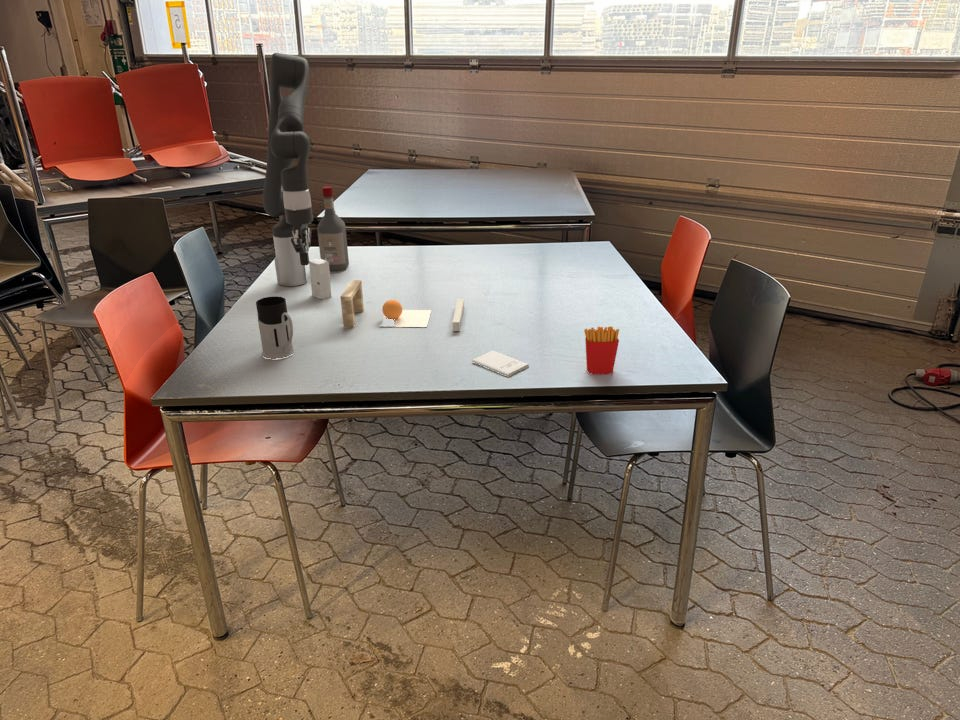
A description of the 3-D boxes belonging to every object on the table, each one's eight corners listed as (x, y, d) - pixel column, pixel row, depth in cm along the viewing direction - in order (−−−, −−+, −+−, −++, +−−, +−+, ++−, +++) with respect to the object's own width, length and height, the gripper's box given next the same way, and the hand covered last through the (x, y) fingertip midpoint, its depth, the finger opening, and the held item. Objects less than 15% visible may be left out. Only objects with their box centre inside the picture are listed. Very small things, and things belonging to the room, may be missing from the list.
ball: (392, 299, 196) (404, 315, 198) (396, 293, 202) (408, 309, 203) (376, 309, 198) (388, 325, 200) (381, 303, 203) (392, 319, 205)
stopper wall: (452, 331, 192) (452, 322, 191) (457, 307, 210) (457, 298, 209) (459, 331, 192) (459, 322, 191) (464, 307, 210) (463, 298, 209)
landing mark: (379, 327, 196) (379, 326, 196) (387, 310, 208) (387, 309, 208) (426, 327, 195) (426, 327, 195) (431, 310, 208) (431, 310, 208)
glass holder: (285, 344, 185) (278, 293, 179) (311, 359, 176) (304, 306, 169) (256, 353, 180) (247, 301, 173) (281, 369, 170) (273, 315, 164)
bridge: (343, 327, 196) (340, 296, 192) (354, 309, 209) (351, 280, 205) (353, 327, 196) (350, 296, 191) (363, 309, 209) (361, 280, 205)
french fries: (614, 367, 170) (617, 323, 164) (617, 374, 166) (620, 330, 161) (580, 367, 170) (583, 324, 164) (583, 374, 166) (586, 330, 161)
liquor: (345, 272, 245) (337, 189, 232) (320, 272, 245) (311, 189, 233) (350, 264, 253) (342, 184, 241) (326, 264, 254) (317, 185, 241)
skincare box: (311, 295, 222) (307, 260, 217) (323, 292, 225) (319, 257, 219) (321, 300, 218) (317, 264, 213) (333, 296, 220) (329, 261, 215)
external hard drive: (493, 355, 179) (528, 369, 171) (472, 365, 173) (507, 379, 165) (493, 350, 178) (529, 363, 170) (471, 359, 173) (507, 373, 165)
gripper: (291, 200, 195) (299, 258, 202) (277, 210, 183) (285, 271, 190) (317, 200, 194) (323, 258, 202) (304, 210, 182) (311, 271, 190)
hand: (305, 264), depth 196 cm, fingers closed
